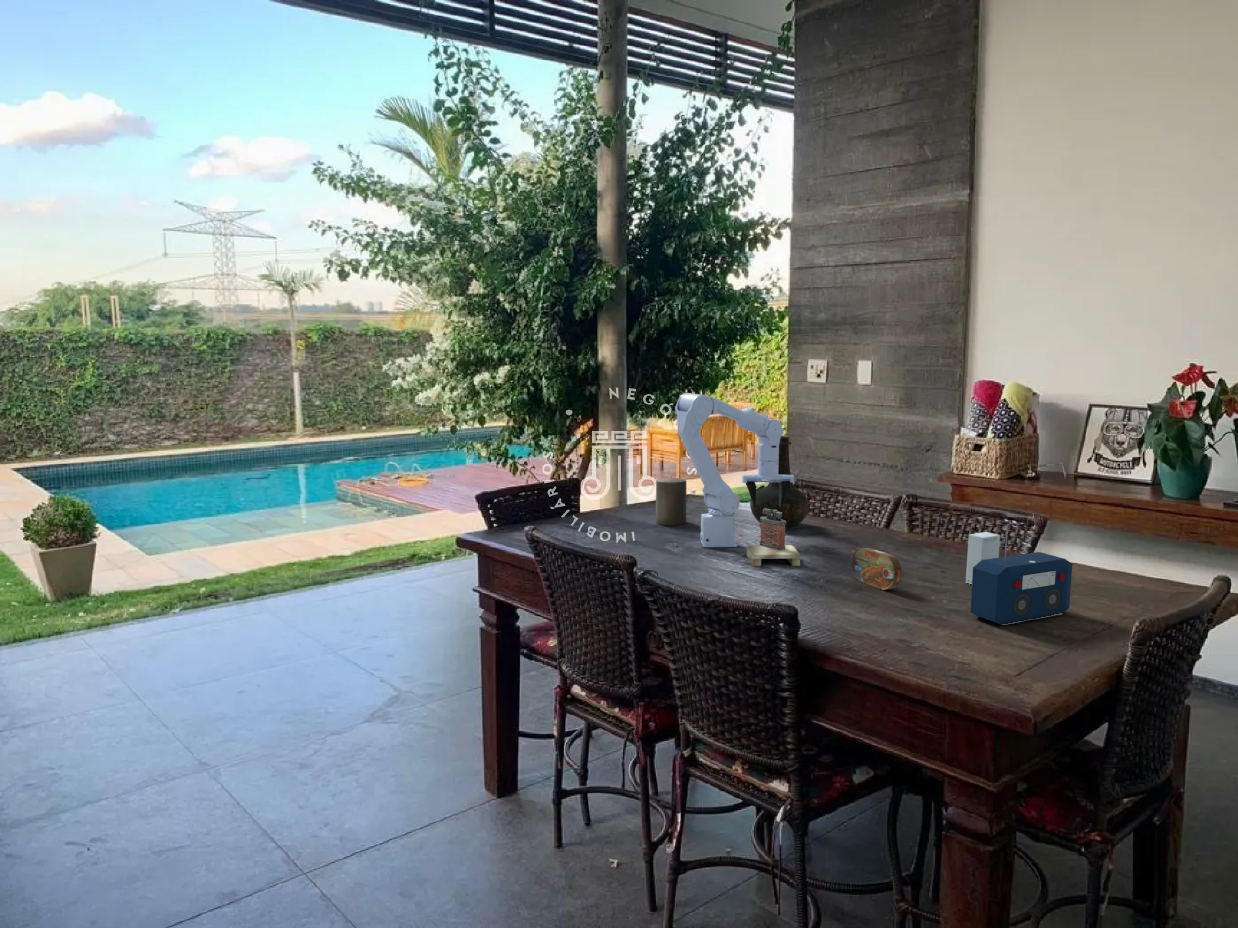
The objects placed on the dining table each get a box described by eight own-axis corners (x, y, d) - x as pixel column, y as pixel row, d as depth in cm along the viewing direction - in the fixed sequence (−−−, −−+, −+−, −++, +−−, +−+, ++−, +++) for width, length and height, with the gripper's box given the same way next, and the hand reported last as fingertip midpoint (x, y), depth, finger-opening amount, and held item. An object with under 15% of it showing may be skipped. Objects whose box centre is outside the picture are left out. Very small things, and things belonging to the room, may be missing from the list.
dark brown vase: (765, 517, 284) (767, 431, 280) (817, 524, 274) (820, 434, 270) (739, 527, 270) (740, 436, 266) (793, 534, 259) (795, 440, 255)
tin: (850, 578, 213) (851, 544, 212) (860, 576, 214) (862, 543, 213) (892, 594, 199) (893, 558, 198) (903, 593, 200) (904, 557, 199)
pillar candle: (687, 525, 272) (687, 478, 270) (655, 525, 272) (656, 478, 270) (685, 519, 282) (685, 473, 280) (655, 519, 282) (655, 473, 280)
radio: (1000, 629, 175) (1005, 531, 172) (966, 617, 183) (971, 523, 180) (1074, 616, 183) (1081, 522, 180) (1039, 604, 191) (1045, 514, 188)
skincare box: (980, 588, 204) (982, 537, 202) (965, 583, 207) (967, 534, 206) (998, 584, 206) (1000, 534, 205) (983, 580, 210) (985, 531, 208)
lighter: (788, 548, 230) (789, 511, 228) (779, 550, 228) (780, 512, 226) (765, 543, 236) (766, 506, 235) (756, 544, 234) (757, 508, 233)
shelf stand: (753, 566, 224) (753, 554, 223) (746, 556, 234) (747, 545, 233) (800, 565, 224) (800, 554, 224) (791, 556, 234) (792, 545, 234)
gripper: (745, 462, 246) (744, 510, 248) (796, 462, 247) (795, 509, 249) (741, 459, 253) (740, 505, 255) (791, 458, 254) (790, 504, 256)
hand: (767, 507), depth 252 cm, fingers open, 7 cm apart
